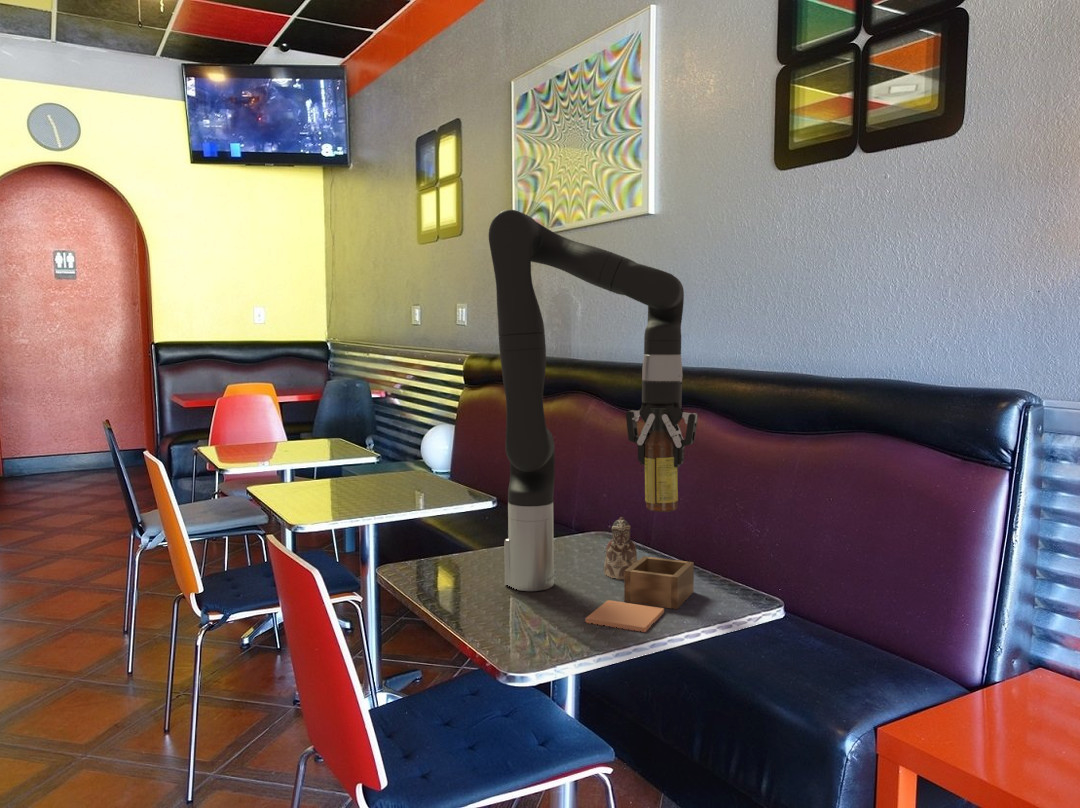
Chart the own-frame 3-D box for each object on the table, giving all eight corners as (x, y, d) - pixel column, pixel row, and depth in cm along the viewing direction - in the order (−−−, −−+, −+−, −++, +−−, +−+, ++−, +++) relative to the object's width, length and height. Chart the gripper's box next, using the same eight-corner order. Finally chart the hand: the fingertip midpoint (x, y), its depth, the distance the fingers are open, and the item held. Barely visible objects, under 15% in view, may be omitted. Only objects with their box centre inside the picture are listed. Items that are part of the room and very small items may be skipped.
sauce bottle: (682, 508, 152) (684, 407, 151) (670, 514, 147) (672, 409, 145) (650, 505, 155) (652, 405, 154) (638, 510, 150) (640, 407, 148)
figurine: (601, 577, 165) (601, 521, 164) (607, 568, 172) (608, 514, 171) (634, 580, 163) (634, 523, 162) (640, 571, 170) (640, 516, 169)
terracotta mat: (585, 622, 138) (585, 618, 138) (607, 604, 148) (607, 600, 148) (645, 632, 133) (645, 627, 133) (664, 612, 143) (664, 608, 143)
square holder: (624, 601, 149) (624, 570, 149) (643, 585, 160) (643, 556, 159) (677, 609, 145) (677, 577, 144) (693, 591, 155) (693, 562, 155)
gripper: (619, 378, 149) (618, 465, 150) (694, 380, 143) (692, 471, 144) (632, 377, 156) (631, 460, 157) (704, 378, 149) (702, 465, 151)
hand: (660, 465), depth 150 cm, fingers closed on sauce bottle, 6 cm apart
